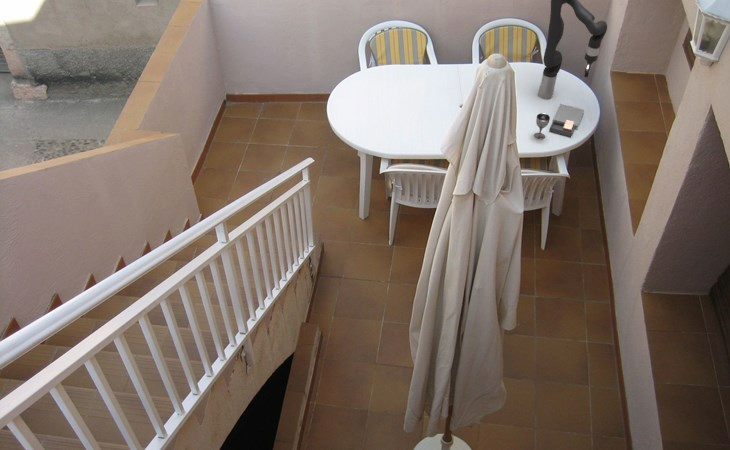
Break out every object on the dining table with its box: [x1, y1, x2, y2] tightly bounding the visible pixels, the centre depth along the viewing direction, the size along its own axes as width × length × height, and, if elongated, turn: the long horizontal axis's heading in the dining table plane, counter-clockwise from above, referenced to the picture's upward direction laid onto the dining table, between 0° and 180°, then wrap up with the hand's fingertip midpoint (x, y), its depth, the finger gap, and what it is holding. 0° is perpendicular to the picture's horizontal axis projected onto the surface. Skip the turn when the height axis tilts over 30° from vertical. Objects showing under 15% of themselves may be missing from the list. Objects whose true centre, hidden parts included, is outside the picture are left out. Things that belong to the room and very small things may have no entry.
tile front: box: [563, 125, 572, 132], centre depth 437 cm, size 5×5×2 cm
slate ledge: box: [552, 103, 585, 130], centre depth 449 cm, size 16×19×3 cm
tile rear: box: [565, 120, 574, 127], centre depth 440 cm, size 5×5×2 cm
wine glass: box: [533, 112, 551, 141], centre depth 432 cm, size 8×8×15 cm
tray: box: [548, 119, 575, 138], centre depth 440 cm, size 14×9×4 cm, turn 65°
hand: (586, 76), depth 433 cm, fingers closed
